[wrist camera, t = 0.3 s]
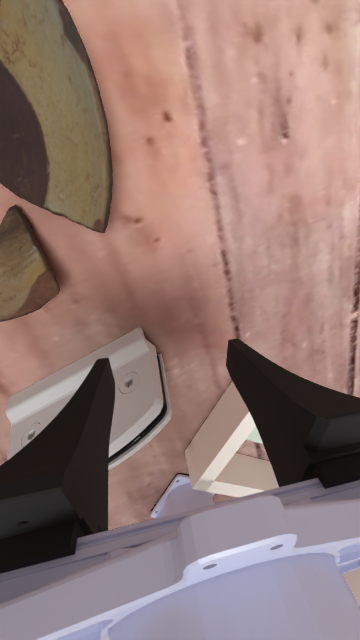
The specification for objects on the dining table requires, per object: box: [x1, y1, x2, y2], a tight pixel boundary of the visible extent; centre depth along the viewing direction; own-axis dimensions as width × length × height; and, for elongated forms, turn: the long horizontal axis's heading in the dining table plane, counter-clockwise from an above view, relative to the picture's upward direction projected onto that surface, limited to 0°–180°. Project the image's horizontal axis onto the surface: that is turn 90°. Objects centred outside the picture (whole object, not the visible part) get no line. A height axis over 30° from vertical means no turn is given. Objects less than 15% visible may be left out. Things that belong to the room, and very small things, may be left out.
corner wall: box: [184, 381, 279, 497], centre depth 30 cm, size 16×18×5 cm
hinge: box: [5, 327, 172, 470], centre depth 22 cm, size 17×5×10 cm, turn 117°
